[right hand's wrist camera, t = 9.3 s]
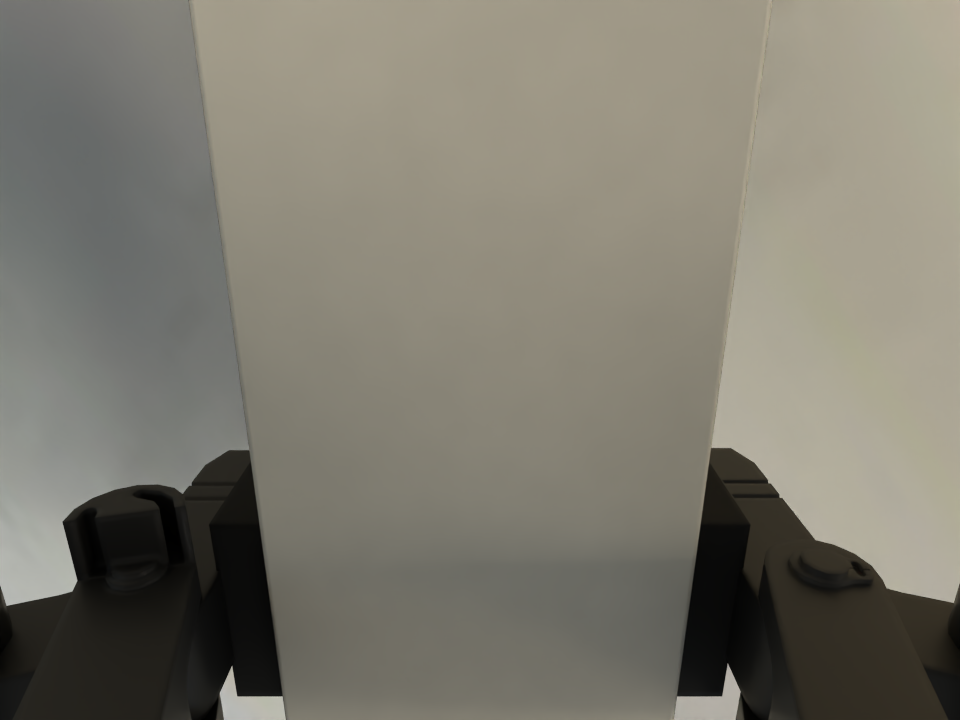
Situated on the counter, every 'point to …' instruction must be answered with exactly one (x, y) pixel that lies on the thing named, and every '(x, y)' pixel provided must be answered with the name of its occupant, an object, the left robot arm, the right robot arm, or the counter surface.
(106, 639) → the right robot arm
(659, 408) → the beam
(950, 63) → the counter surface
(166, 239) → the counter surface
